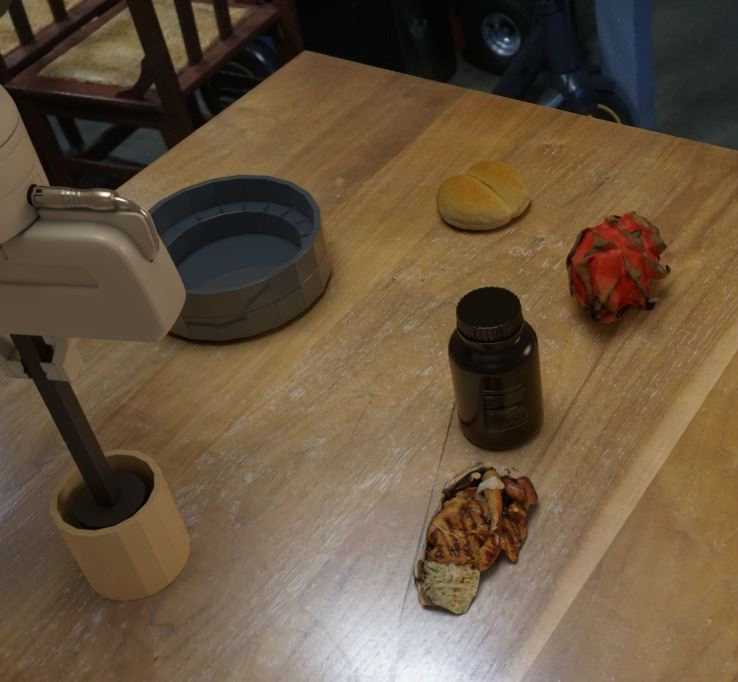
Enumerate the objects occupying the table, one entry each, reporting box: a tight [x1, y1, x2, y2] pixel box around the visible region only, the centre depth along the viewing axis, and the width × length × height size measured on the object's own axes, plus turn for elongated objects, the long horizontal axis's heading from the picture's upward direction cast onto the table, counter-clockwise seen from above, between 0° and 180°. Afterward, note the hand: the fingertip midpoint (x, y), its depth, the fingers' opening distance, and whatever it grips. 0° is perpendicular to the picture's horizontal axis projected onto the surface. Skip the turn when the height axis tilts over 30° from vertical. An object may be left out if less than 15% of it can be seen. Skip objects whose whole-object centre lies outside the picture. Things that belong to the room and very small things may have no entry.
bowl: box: [147, 174, 332, 342], centre depth 100 cm, size 17×17×6 cm
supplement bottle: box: [447, 286, 544, 450], centre depth 83 cm, size 7×7×12 cm
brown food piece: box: [412, 457, 539, 615], centre depth 78 cm, size 7×12×4 cm, turn 163°
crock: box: [48, 448, 191, 602], centre depth 77 cm, size 7×7×8 cm
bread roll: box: [435, 160, 532, 231], centre depth 107 cm, size 8×9×4 cm
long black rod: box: [9, 334, 150, 530], centre depth 71 cm, size 5×5×21 cm
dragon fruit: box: [565, 210, 672, 325], centre depth 95 cm, size 8×8×12 cm
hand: (46, 372), depth 66 cm, fingers closed on long black rod
